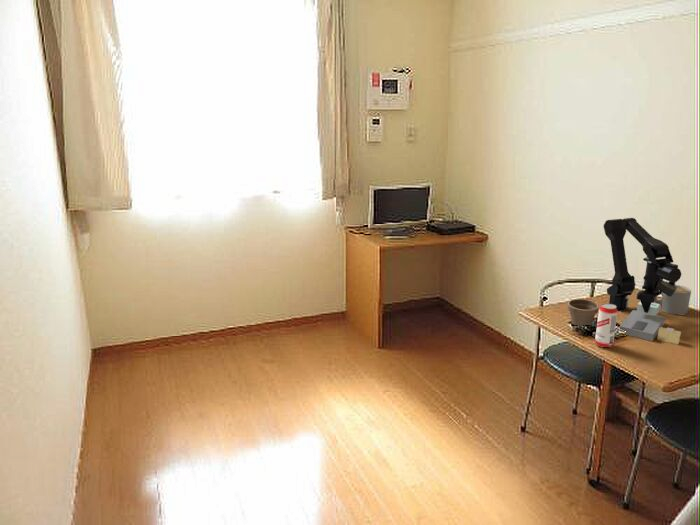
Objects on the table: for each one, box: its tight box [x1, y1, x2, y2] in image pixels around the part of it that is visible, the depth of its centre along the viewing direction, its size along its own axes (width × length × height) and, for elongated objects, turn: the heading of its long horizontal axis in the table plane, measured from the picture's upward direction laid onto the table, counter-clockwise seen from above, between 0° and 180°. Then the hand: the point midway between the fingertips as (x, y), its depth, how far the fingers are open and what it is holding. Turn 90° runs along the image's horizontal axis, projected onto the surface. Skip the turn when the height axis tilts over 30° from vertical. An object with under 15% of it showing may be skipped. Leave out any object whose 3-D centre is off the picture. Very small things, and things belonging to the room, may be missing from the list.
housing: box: [619, 309, 666, 342], centre depth 214 cm, size 12×20×3 cm, turn 140°
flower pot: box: [567, 298, 600, 326], centre depth 216 cm, size 12×11×10 cm
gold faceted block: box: [656, 326, 682, 345], centre depth 203 cm, size 2×7×5 cm, turn 50°
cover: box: [636, 300, 661, 315], centre depth 216 cm, size 7×5×3 cm
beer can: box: [594, 302, 618, 348], centre depth 199 cm, size 6×6×16 cm
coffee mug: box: [654, 284, 692, 316], centre depth 229 cm, size 13×10×10 cm
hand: (647, 310), depth 217 cm, fingers closed on cover, 5 cm apart
